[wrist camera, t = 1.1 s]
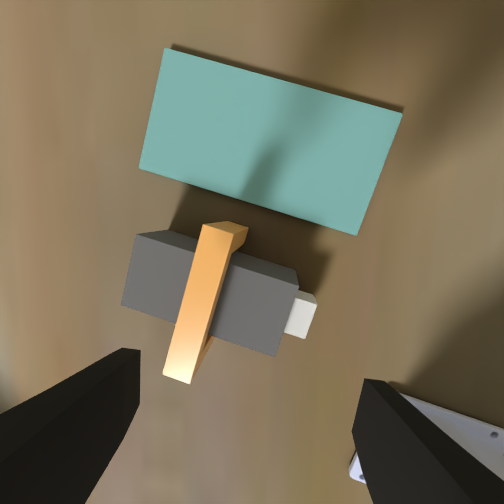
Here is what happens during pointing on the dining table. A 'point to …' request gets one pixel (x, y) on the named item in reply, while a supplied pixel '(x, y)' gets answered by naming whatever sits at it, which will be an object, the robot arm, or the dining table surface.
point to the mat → (267, 140)
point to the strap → (202, 298)
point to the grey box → (231, 295)
